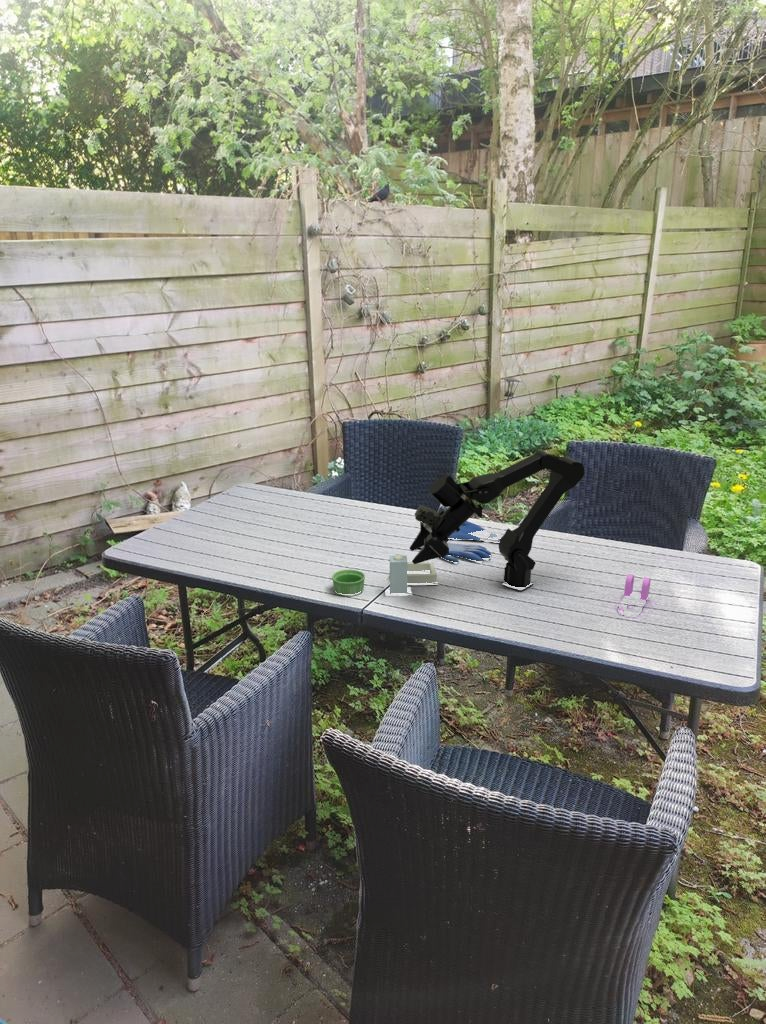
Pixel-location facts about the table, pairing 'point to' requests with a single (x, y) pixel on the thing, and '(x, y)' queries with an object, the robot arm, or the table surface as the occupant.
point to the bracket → (629, 587)
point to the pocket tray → (421, 577)
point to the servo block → (398, 574)
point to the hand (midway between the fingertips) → (411, 556)
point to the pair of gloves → (468, 550)
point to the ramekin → (348, 581)
